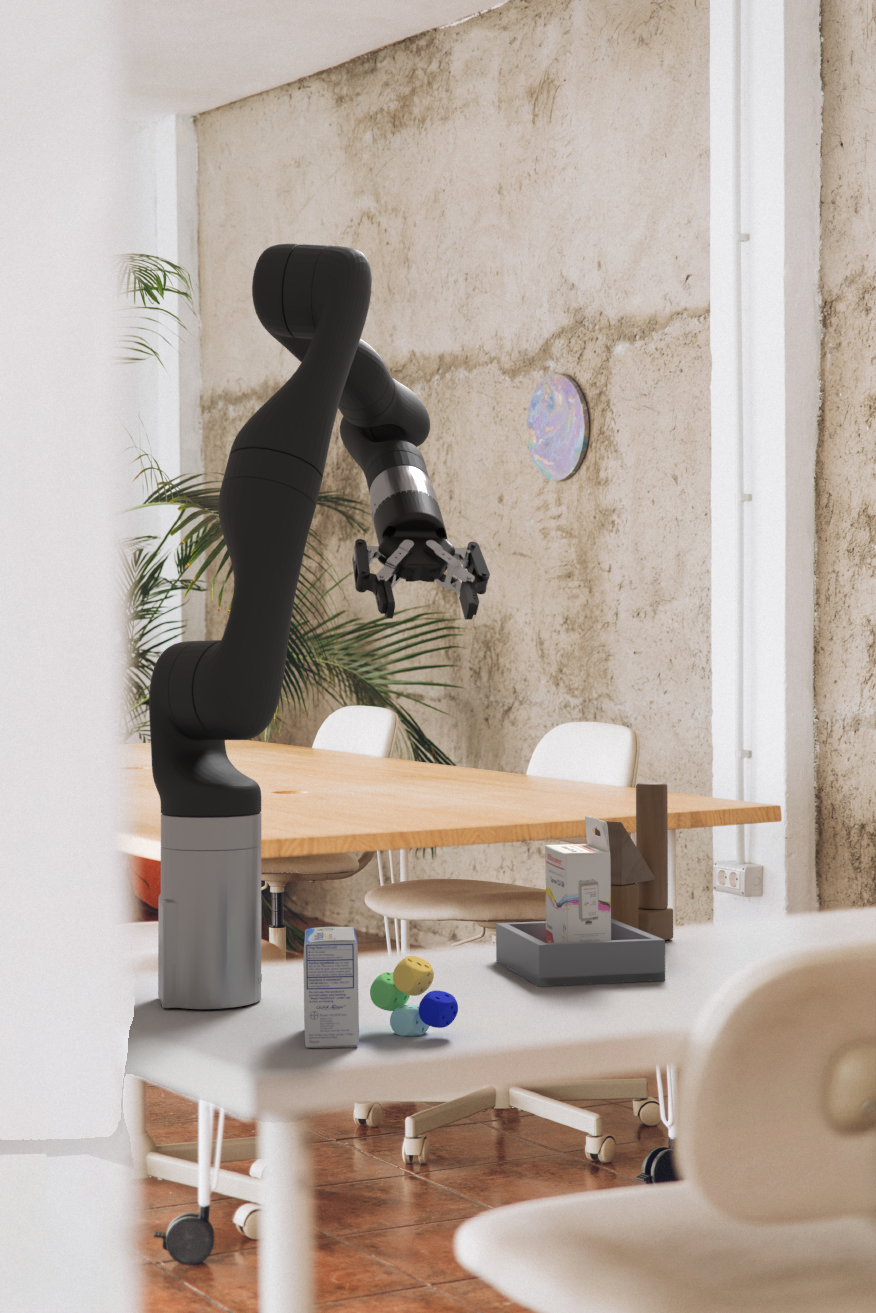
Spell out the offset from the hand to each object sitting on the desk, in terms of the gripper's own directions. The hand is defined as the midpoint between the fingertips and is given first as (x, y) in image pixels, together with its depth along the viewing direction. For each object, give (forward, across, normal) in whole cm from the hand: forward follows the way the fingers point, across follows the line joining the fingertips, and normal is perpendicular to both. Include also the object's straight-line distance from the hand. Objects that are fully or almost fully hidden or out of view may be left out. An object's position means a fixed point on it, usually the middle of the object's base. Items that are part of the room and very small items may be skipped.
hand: (431, 613), depth 166 cm
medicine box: (+48, -16, +4) cm, 51 cm away
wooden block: (+20, +26, +33) cm, 46 cm away
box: (+30, +14, +22) cm, 40 cm away
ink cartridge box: (+29, +14, +22) cm, 39 cm away
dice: (+48, -9, +4) cm, 49 cm away
